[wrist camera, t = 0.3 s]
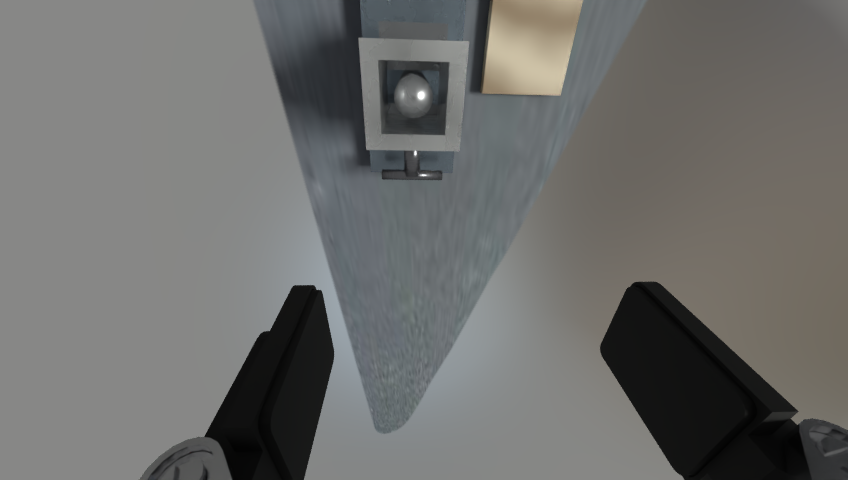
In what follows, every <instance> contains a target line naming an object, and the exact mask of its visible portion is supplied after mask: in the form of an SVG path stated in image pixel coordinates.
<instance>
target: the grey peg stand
mask: <svg viewBox="0 0 848 480" xmlns="http://www.w3.org/2000/svg"><path fill="white" fill-rule="evenodd" d="M465 5H466V0H360V12H361V27H362V38H382V39H412V40H442V41H463V31H464V18H465ZM438 83H439V62H433V61H400V60H387V89H388V114H403V115H404V116H406V117H409V118H418V117H421V116H423V115H437V105H438ZM453 158H454V151H406V150H370V164H371V172H382V179H396V180H442V173H452V171H453Z"/></svg>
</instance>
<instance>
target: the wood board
mask: <svg viewBox="0 0 848 480" xmlns="http://www.w3.org/2000/svg"><path fill="white" fill-rule="evenodd" d="M582 2H583V0H490V7H489V16H488V25H487V34H486V43H485V52H484V60H483V69H482V78H481V87H480V92H481V93H484V94H523V95H561V91H562V86H563V82H564V78H565V74H566V70H567V65H568V61H569V57H570V53H571V48H572V44H573V40H574V36H575V32H576V27H577V23H578V19H579V15H580V11H581V6H582Z"/></svg>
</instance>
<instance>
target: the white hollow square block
mask: <svg viewBox="0 0 848 480" xmlns="http://www.w3.org/2000/svg"><path fill="white" fill-rule="evenodd" d="M358 39H359V53H360V67H361V81H362V95H363V109H364V123H365V138H366V150H406V151H460V140H461V128H462V117H463V106H464V94H465V83H466V72H467V60H468V49H469V41H442V40H412V39H382V38H358ZM387 60H400V61H433V62H439V83H438V105H437V115H423V116H421V117H418V118H409V117H406V116H404V115H403V114H388V89H387Z"/></svg>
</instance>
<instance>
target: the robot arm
mask: <svg viewBox="0 0 848 480" xmlns="http://www.w3.org/2000/svg"><path fill="white" fill-rule="evenodd" d="M600 351H601V355H602V357H603V359H604V360H605V361H606V363H607V365H608V366H609V368H610V369H611V371H612V373H613V374H614V376H615V377H616V379H617V381H618V382H619V384H620V385H621V387H622V389H623V390H624V392H625V393H626V395H627V396H628V398H629V400H630V401H631V403H632V404H633V406H634V407H635V409H636V411H637V412H638V414H639V415H640V417H641V418H642V420H643V422H644V423H645V425H646V426H647V428H648V430H649V431H650V433H651V434H652V436H653V437H654V439H655V441H656V442H657V444H658V445H659V447H660V448H661V450H662V452H663V453H664V455H665V456H666V458H667V460H668V461H669V463H670V464H671V466H672V467H673V468H674V470H675V471H676V472H677V473H678V474H680V475H682V476H683V478H684V480H848V430H846V429H844V428H842V427H840V426H838V425H835V424H832V423H830V422H827V421H824V420H818V419H813V418H812V419H805V420H803V421H802V422H800V423H799V424H798V425H797V424H795V423H794V422H793V421H792V420H791V419H790V418H792V417H793V416H794V415H795V414H796V413H797V412H798V411H797V410H796V409H795V408H794V407H793V406H792V405H791V404H790V403H789V402H788V401H787V400H786V399H784V398H783V397H782V396H781V395H780V394H779V393H778V392H777V391H776V390H775V389H774V388H772V387H771V386H770V385H769V384H768V383H767V382H766V381H765V380H764V379H763V378H762V377H761V376H759V375H758V374H757V373H756V372H755V371H754V370H753V369H752V368H751V367H750V366H749V365H748V364H746V363H745V362H744V361H743V360H742V359H741V358H740V357H739V356H738V355H737V354H736V353H735V352H733V351H732V350H731V349H730V348H729V347H728V346H727V345H726V344H725V343H724V342H723V341H722V340H720V339H719V338H718V337H717V336H716V335H715V334H714V333H713V332H712V331H710V329H709V328H707V327H706V326H705V325H704V324H703V323H702V322H701V321H700V320H699V319H698V318H696V317H695V316H694V315H693V314H692V313H691V312H690V311H689V310H688V309H687V308H686V307H685V306H684V305H682V304H681V303H680V302H679V301H678V300H677V299H676V298H675V297H674V296H673V295H672V294H671V293H669V292H668V291H667V290H666V289H665V288H664V287H663V286H662V285H661V284H659V283H657V282H635V283H633V284H632V285H631V286H630V287H628V288H627V289H626V291H625V293H624V296H623V298H622V300H621V302H620V304H619V306H618V309H617V311H616V313H615V315H614V317H613V319H612V321H611V324H610V326H609V328H608V330H607V332H606V334H605V337H604V339H603V341H602V343H601V346H600ZM333 360H334V348H333V343H332V338H331V333H330V328H329V323H328V318H327V313H326V308H325V304H324V298H323V294H322V291H321V290H316V287H315V286H314V285H303V286H302V285H297V286H296V285H295V286H293V287H292V289H291V291H290V293H289V294H288V297H287V299H286V300H285V302H284V304H283V306H282V308H281V310H280V312H279V314H278V316H277V318H276V321H275V322H274V324H273V326H272V328H271V330H270V331H266V332H263V333H261V334H260V335H259V337H258V338H257V340H256V342H255V343H254V345H253V347H252V349H251V351H250V353H249V355H248V356H247V358H246V360H245V362H244V364H243V366H242V368H241V370H240V371H239V373H238V375H237V377H236V379H235V381H234V383H233V384H232V386H231V388H230V390H229V392H228V394H227V395H226V397H225V399H224V401H223V403H222V405H221V407H220V408H219V410H218V412H217V414H216V416H215V418H214V420H213V422H212V423H211V425H210V427H209V429H208V431H207V433H206V435H205V437H197V438H192V439H188V440H185V441H183V442H181V443H179V444H177V445H175V446H173V447H172V448H170V449H169V450H167V451H166V452H165V453H163V454H162V455H160V456H159V457H158V458H157V459H156V460H155V461H154V462H153V463H152V464H151V465H150V466H149V467H148V468H147V470H146V471H145V472H144V474H143V475H142V477H141V478H140V480H304V476H305V472H306V469H307V465H308V461H309V457H310V453H311V449H312V445H313V441H314V437H315V432H316V429H317V425H318V421H319V417H320V413H321V409H322V404H323V401H324V397H325V393H326V389H327V385H328V381H329V377H330V373H331V369H332V365H333Z"/></svg>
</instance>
